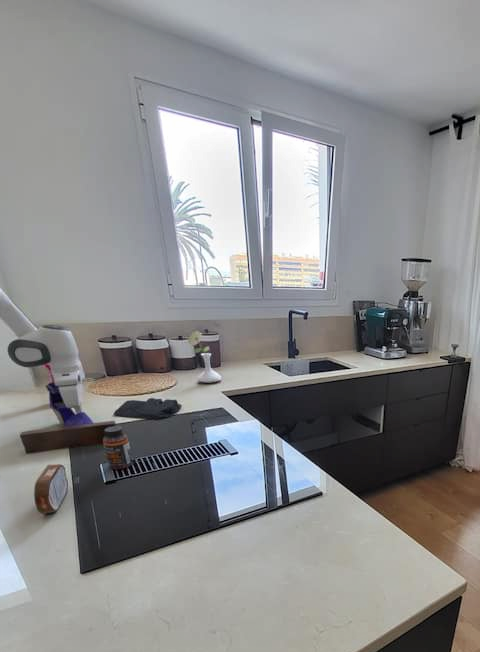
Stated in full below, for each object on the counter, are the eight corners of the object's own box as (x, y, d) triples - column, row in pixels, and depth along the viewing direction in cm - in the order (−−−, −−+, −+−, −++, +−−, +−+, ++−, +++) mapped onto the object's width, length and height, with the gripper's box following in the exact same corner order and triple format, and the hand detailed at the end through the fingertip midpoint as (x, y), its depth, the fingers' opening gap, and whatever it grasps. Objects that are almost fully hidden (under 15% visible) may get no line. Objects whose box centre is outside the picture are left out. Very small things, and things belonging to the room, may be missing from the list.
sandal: (74, 438, 128) (61, 393, 122) (53, 423, 139) (40, 382, 133) (101, 431, 134) (90, 388, 128) (79, 417, 145) (67, 378, 139)
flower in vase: (215, 377, 204) (209, 328, 194) (225, 382, 197) (219, 330, 187) (190, 381, 196) (182, 330, 186) (199, 386, 189) (192, 332, 178)
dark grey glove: (135, 404, 162) (133, 392, 160) (186, 407, 160) (184, 396, 158) (109, 416, 148) (106, 404, 146) (164, 419, 146) (162, 407, 144)
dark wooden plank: (26, 453, 117) (19, 435, 114) (28, 450, 119) (21, 431, 117) (118, 440, 127) (114, 423, 125) (119, 437, 130) (114, 420, 127)
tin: (58, 488, 99) (48, 459, 96) (73, 486, 100) (64, 457, 97) (39, 521, 86) (27, 488, 83) (56, 518, 87) (45, 485, 84)
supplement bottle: (105, 470, 108) (95, 433, 104) (114, 461, 114) (105, 425, 109) (129, 469, 109) (120, 432, 105) (136, 460, 115) (128, 424, 110)
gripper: (61, 368, 141) (71, 405, 146) (53, 382, 125) (65, 423, 130) (82, 367, 144) (91, 403, 149) (76, 380, 127) (88, 420, 133)
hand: (79, 412), depth 140 cm, fingers closed
